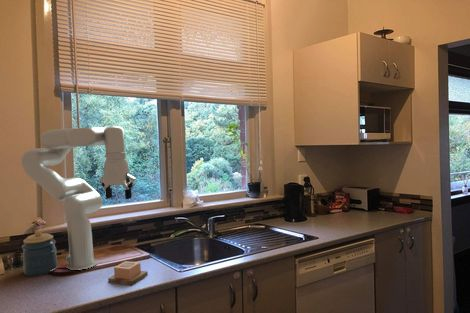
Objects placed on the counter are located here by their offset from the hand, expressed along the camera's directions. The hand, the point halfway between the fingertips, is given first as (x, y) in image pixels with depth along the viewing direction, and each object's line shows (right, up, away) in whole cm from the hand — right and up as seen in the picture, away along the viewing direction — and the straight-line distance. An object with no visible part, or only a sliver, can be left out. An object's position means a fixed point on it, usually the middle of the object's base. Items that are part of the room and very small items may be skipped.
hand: (118, 198), depth 151 cm
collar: (+6, -29, -7) cm, 31 cm away
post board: (+6, -31, -7) cm, 32 cm away
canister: (-35, -32, +6) cm, 48 cm away
